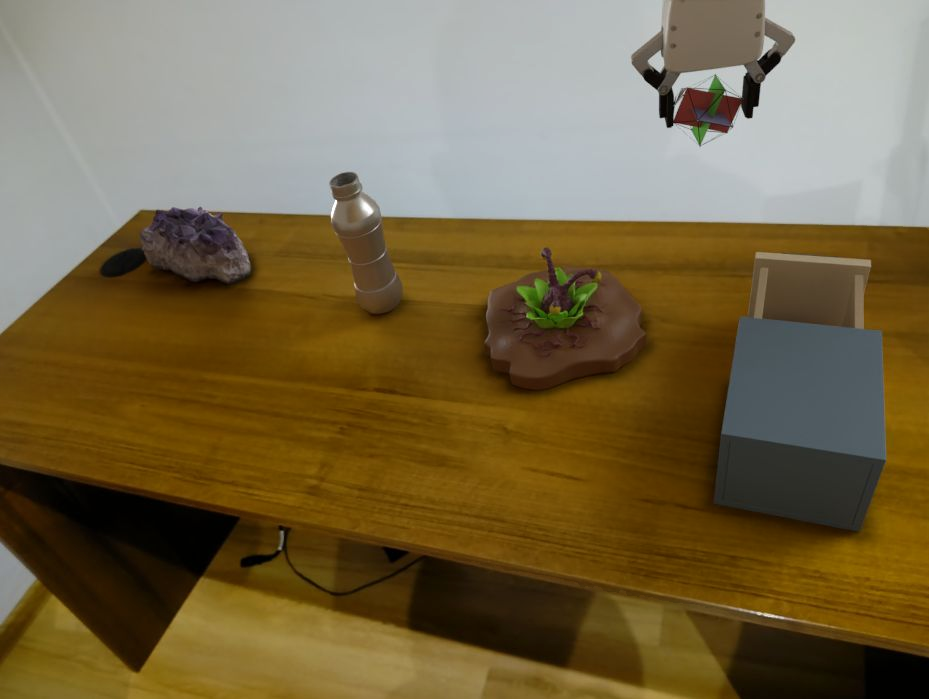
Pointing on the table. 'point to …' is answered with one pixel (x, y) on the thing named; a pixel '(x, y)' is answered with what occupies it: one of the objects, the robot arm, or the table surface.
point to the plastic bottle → (364, 245)
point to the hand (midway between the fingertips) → (707, 117)
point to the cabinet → (803, 422)
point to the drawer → (809, 289)
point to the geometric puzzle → (707, 109)
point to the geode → (195, 246)
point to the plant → (562, 326)
